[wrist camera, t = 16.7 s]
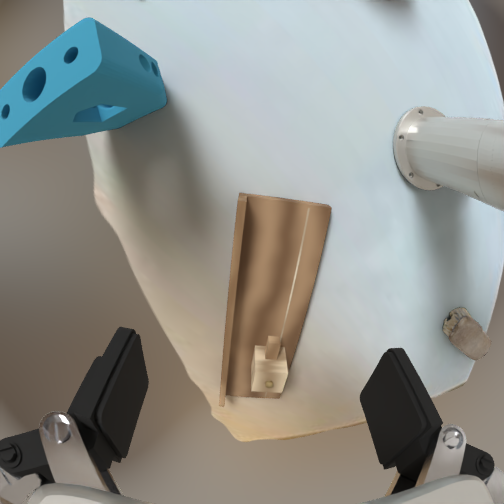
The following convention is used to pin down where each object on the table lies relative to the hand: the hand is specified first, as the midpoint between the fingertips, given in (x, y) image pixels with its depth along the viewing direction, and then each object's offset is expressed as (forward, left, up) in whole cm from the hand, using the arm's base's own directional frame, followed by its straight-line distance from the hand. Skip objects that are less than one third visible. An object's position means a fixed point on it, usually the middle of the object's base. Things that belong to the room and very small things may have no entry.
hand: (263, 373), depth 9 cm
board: (-4, +19, -28) cm, 34 cm away
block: (+17, -12, -28) cm, 35 cm away
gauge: (-6, +26, -27) cm, 38 cm away
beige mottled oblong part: (-53, +22, -29) cm, 64 cm away
